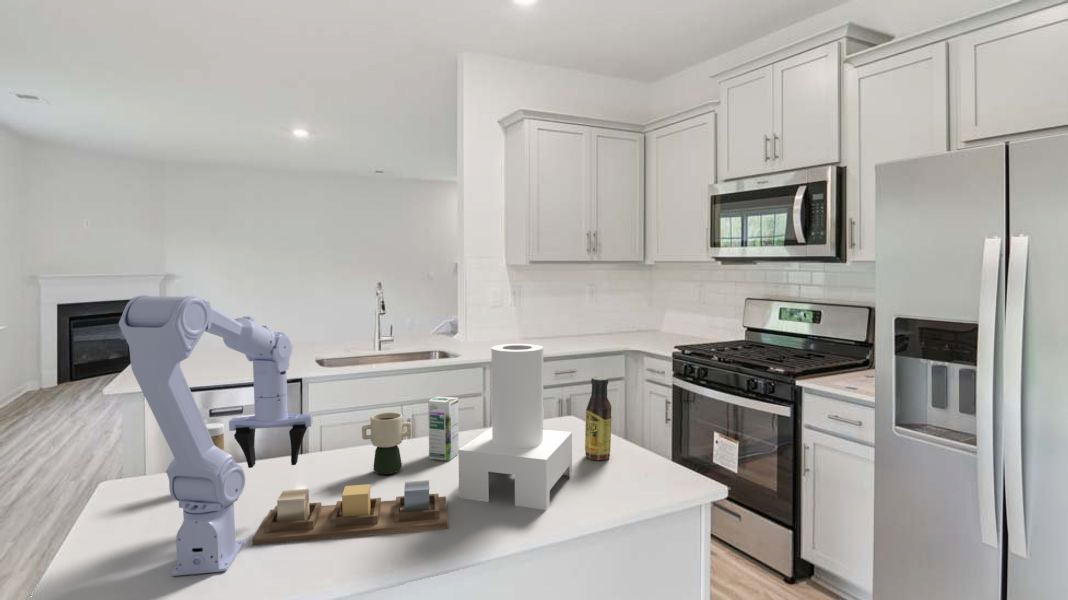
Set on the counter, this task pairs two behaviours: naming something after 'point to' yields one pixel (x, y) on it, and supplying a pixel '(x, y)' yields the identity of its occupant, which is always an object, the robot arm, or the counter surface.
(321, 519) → the puzzle board
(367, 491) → the ochre block
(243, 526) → the counter surface
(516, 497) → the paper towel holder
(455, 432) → the syrup box
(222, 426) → the sprinkles bottle
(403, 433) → the character mug
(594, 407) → the sauce bottle
